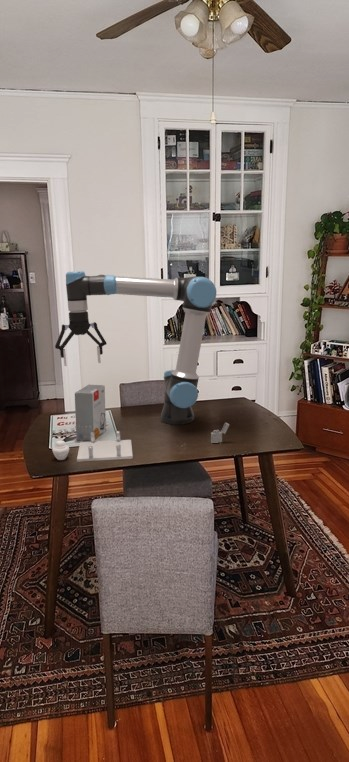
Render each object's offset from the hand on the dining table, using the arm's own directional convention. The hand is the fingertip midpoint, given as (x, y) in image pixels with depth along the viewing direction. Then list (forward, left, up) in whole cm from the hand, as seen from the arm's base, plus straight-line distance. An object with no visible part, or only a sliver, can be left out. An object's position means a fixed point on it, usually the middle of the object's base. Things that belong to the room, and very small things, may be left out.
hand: (82, 364), depth 198 cm
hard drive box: (-2, +1, -30) cm, 30 cm away
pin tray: (-8, +21, -30) cm, 37 cm away
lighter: (-53, +18, -30) cm, 64 cm away
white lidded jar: (+8, +25, -30) cm, 40 cm away
